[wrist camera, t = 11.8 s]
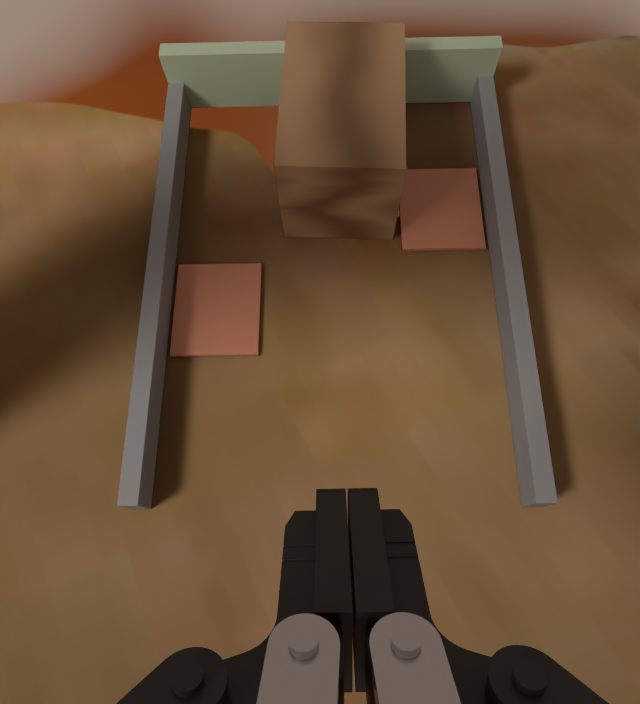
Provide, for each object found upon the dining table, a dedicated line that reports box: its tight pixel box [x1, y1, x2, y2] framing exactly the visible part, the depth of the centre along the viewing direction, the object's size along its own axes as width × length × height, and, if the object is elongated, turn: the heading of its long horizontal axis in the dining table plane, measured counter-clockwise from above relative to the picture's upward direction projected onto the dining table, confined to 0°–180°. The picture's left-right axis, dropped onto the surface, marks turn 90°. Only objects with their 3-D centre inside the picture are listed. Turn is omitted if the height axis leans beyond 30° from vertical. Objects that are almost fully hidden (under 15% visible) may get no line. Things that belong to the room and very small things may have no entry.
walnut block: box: [274, 22, 406, 240], centre depth 38 cm, size 8×12×8 cm, turn 177°
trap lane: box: [117, 36, 558, 509], centre depth 37 cm, size 25×33×5 cm
